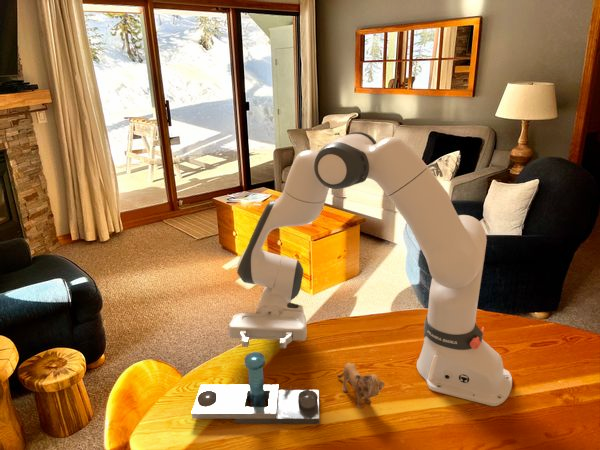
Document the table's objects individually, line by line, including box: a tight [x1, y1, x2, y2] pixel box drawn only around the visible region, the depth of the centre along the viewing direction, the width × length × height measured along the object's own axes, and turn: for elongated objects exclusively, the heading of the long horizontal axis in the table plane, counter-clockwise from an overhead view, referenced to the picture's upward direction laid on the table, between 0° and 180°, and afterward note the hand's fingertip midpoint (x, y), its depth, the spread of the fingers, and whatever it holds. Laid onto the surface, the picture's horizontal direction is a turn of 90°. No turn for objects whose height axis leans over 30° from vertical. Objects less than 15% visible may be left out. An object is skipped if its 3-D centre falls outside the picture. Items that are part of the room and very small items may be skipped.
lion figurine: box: [336, 362, 385, 409], centre depth 108 cm, size 15×5×9 cm, turn 34°
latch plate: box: [191, 384, 320, 425], centre depth 105 cm, size 28×9×4 cm, turn 88°
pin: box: [244, 351, 266, 407], centre depth 103 cm, size 4×4×14 cm
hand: (263, 345), depth 113 cm, fingers open, 8 cm apart
